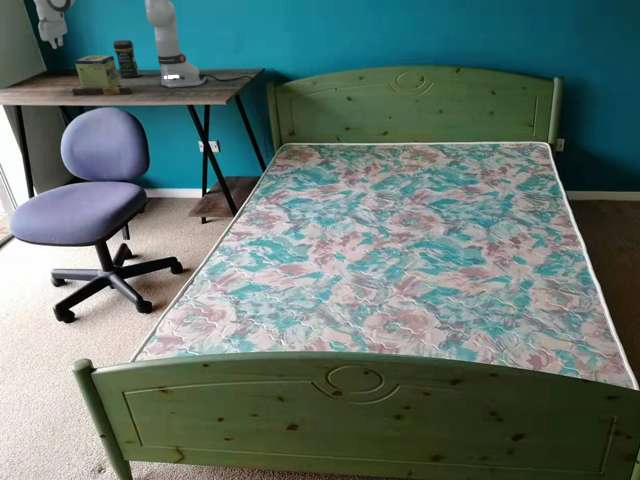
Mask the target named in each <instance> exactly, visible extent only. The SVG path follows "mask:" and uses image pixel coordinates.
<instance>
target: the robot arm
mask: <svg viewBox="0 0 640 480" xmlns="http://www.w3.org/2000/svg"><path fill="white" fill-rule="evenodd" d="M33 2H34V4H35V6H36V13H37V17H38V19H39V23H38V25H37V26H38V32H39V36H40V39H41V40H42V42H49V43H50V45H51V47H52V49H54V50H56V49H58V46H59V47H62V46H64V42H63V41H64V40H63V37H64V36H63V35H66V34H67V33H68V28H67V27H68V26H67V22H66V20H65V14H64V12H67V11H68V10H69V9H70V8H71V7H72V6H74V5H75V3H76V0H33ZM144 4H145V6H144V7H145V11H146V19H147V21H148V23H149V24H150V25H152V27H154V41H155V45H156V50H157V59H158V64H159V68H160V73H161V74H160V75H161V78H160V79H161V80H160V81H161V82H160V85H161V86H164V87H167V88H170V89H171V88H184V87H197V86H202V85H203V84H204V83H205V82H206V81H207V79H206V77H210V78H213V79H214V80H216V81H219V82H230V81H231V82H232V81H235V80H241V79H245V78H248V79H251V80H254V78H253V77H252V76H250V75H243V76H240V77H233V78H227V79H225V78H224V79H219V78H217V77H215V76H214V75H211V74H205V72H204V71H200V70H199V68H198V67H197V66H195V65H194V64H192V63H190V62H189V61H187V54H183V52H181V46H180V41H179V35H178V24H177V23H178V21H177V14H176V8H175V6H174V5H175V4H173V3H172V2H171V1H170V0H144ZM55 39H57V43H56V42H55V41H56V40H55ZM259 110H260V116H261V124H262V131H263V142H264V148H265V150H264V151H265V157H266V159H269V155H268V148H267V139H266V129H265V122H264V115H263V108H262V106H259Z"/></svg>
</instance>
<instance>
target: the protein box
mask: <svg viewBox="0 0 640 480" xmlns="http://www.w3.org/2000/svg"><path fill="white" fill-rule="evenodd" d="M74 64H75V66H76V67H75V68H76V71H77V75H78V78H79V82H80V85H81V88H105V87H122V85H121V81H120V76H119V72H118V69H117V65H116V61H115V58H114V55H85V56H82V57H79V58H77V59H75V60H74Z"/></svg>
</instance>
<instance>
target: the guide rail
mask: <svg viewBox="0 0 640 480" xmlns="http://www.w3.org/2000/svg"><path fill="white" fill-rule="evenodd" d="M72 93H73V96H104V95H105V96H110V95H113V96H114V95H131V94H132V89H131V87H130V86H121V87H105V88H82V87H74V88H72Z"/></svg>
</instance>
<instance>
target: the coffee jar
mask: <svg viewBox="0 0 640 480" xmlns="http://www.w3.org/2000/svg"><path fill="white" fill-rule="evenodd" d="M113 50H114V53H115V54H116V58H117V62H118V69H119V75H120V76H119V77H120V78H124V79H130V78H131V79H132V78H133V79H134V78H136V77H139V76H140V75H141V73H140V70H139V67H138V63H137V61H136V56H135V53H134V50H135V47H134V44H133V42H132V40H131V39H130V40H129V39H121V40H120V39H119V40H117V39H116V40H115V41H113Z"/></svg>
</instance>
